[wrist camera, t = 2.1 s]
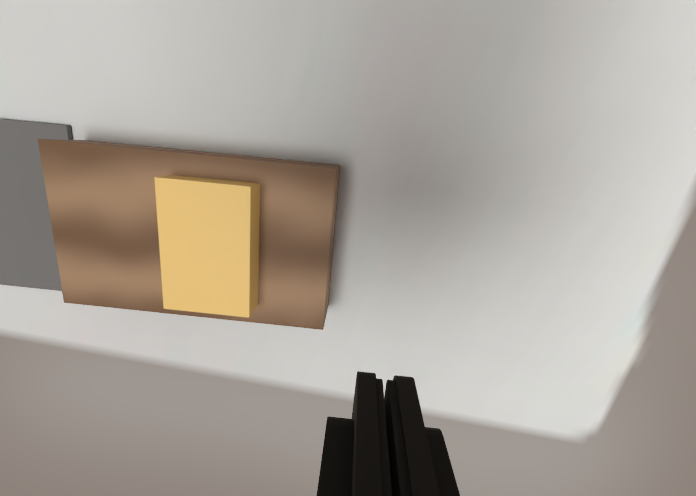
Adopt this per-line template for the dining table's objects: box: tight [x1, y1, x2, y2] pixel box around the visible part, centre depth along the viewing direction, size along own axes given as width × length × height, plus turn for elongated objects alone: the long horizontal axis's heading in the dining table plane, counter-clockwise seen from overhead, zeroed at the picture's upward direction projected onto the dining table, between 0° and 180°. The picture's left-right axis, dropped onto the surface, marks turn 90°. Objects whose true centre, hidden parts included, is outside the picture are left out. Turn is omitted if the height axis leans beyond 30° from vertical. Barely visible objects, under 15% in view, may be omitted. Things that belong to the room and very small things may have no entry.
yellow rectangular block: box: [154, 175, 260, 318], centre depth 23 cm, size 9×6×2 cm, turn 175°
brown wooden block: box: [38, 139, 340, 330], centre depth 26 cm, size 12×20×4 cm, turn 85°
